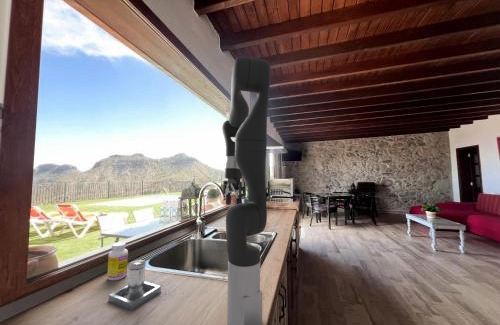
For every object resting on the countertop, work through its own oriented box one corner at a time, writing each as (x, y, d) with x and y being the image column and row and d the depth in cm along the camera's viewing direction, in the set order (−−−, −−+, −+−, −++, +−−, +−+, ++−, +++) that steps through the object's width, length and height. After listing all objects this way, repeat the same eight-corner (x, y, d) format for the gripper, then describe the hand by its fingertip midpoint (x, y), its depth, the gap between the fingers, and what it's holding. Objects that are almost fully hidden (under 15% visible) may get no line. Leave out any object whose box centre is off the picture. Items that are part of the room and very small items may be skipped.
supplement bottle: (117, 282, 80) (119, 247, 81) (102, 280, 81) (104, 246, 82) (130, 273, 86) (132, 242, 87) (117, 272, 88) (118, 240, 88)
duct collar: (160, 292, 74) (160, 286, 74) (131, 310, 64) (131, 303, 64) (138, 284, 78) (138, 279, 78) (108, 301, 68) (108, 294, 68)
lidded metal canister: (145, 297, 70) (147, 264, 71) (127, 303, 67) (129, 267, 68) (142, 290, 75) (144, 258, 75) (126, 295, 72) (127, 262, 72)
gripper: (218, 167, 93) (217, 204, 92) (235, 167, 81) (234, 209, 81) (232, 167, 97) (232, 203, 97) (251, 167, 86) (250, 207, 85)
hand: (233, 205), depth 89 cm, fingers open, 8 cm apart
